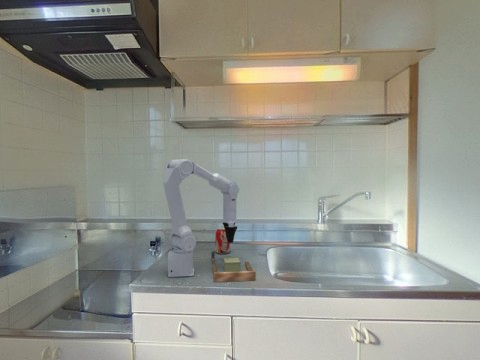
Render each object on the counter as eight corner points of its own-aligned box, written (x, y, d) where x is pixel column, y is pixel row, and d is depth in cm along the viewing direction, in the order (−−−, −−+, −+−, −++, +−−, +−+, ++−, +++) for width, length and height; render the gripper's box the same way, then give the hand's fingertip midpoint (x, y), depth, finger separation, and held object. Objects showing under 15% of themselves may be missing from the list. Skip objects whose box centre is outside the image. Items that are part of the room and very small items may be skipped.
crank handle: (215, 263, 133) (215, 256, 133) (211, 263, 133) (211, 256, 133) (214, 257, 141) (214, 251, 141) (211, 257, 141) (211, 251, 141)
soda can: (217, 255, 145) (216, 229, 145) (214, 251, 152) (214, 226, 152) (231, 254, 147) (231, 228, 147) (228, 250, 154) (228, 226, 153)
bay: (214, 282, 112) (214, 273, 112) (212, 266, 129) (212, 259, 129) (255, 280, 114) (255, 272, 113) (248, 265, 131) (248, 258, 131)
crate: (225, 273, 122) (225, 262, 121) (223, 267, 129) (223, 257, 128) (240, 272, 122) (240, 262, 122) (238, 266, 130) (238, 256, 129)
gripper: (241, 211, 127) (240, 244, 128) (237, 206, 142) (237, 236, 142) (223, 211, 126) (223, 244, 127) (221, 207, 141) (221, 236, 141)
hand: (229, 240), depth 135 cm, fingers open, 7 cm apart
